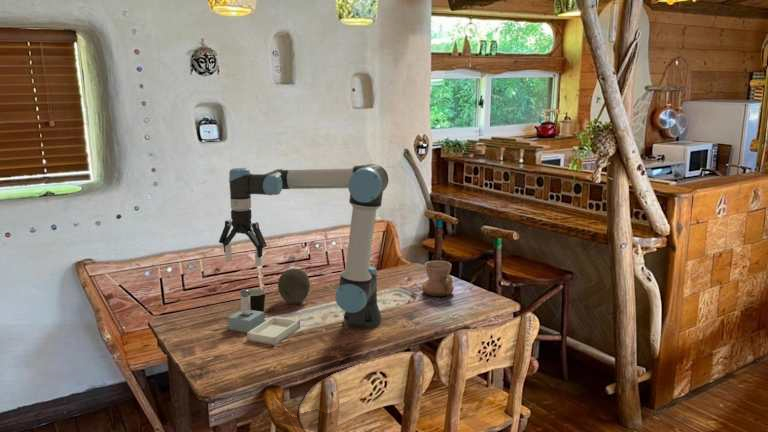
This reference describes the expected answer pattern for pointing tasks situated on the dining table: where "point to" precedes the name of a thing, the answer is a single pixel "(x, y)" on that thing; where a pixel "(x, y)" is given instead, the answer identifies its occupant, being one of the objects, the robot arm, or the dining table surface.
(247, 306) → the pin
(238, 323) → the block
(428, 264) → the ceramic jug
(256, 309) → the coffee mug
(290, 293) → the cantaloupe
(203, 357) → the dining table surface
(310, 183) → the robot arm
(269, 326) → the tray
